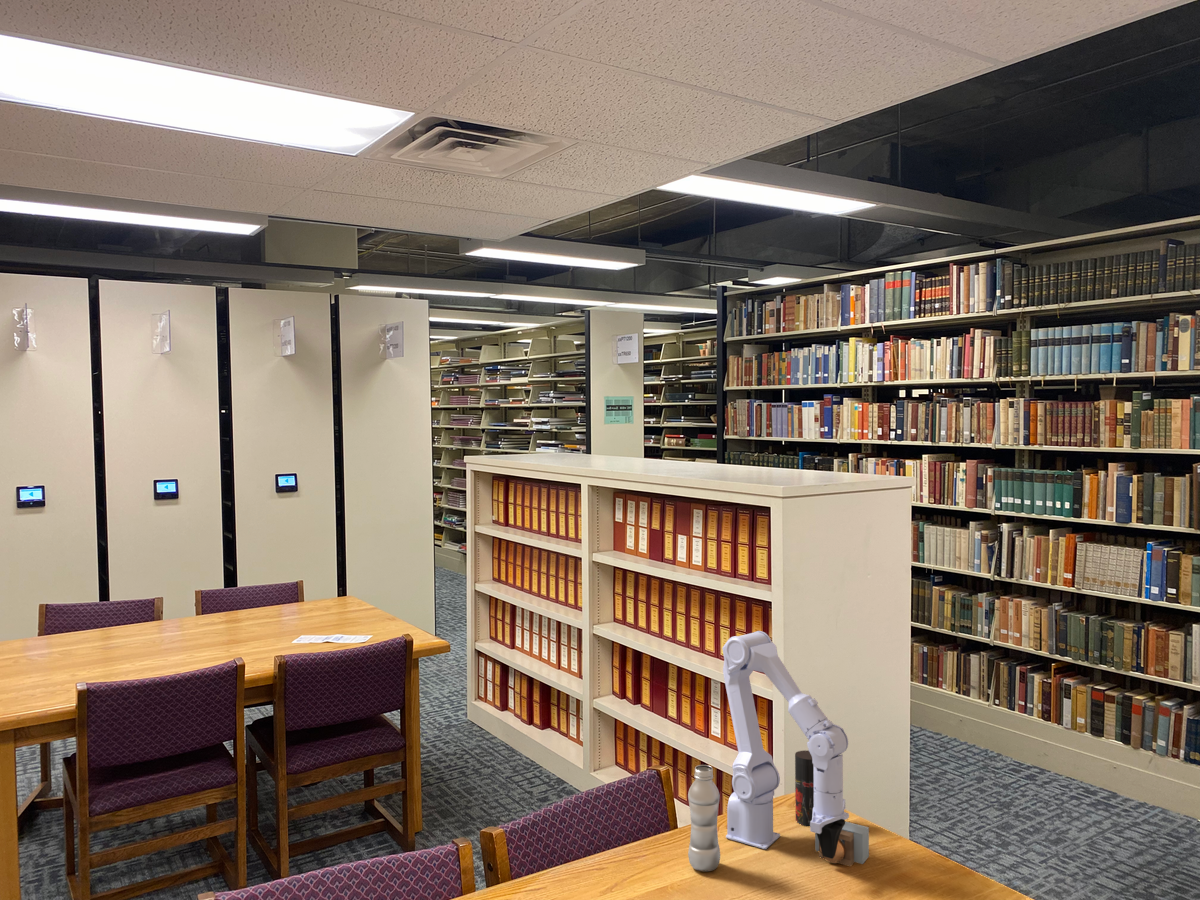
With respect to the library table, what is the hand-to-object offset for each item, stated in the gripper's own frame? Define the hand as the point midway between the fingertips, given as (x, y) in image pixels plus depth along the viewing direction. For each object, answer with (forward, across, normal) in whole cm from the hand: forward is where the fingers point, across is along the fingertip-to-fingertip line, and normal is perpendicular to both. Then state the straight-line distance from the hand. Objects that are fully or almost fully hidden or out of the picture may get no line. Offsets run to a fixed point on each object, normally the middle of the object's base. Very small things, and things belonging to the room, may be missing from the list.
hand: (828, 856), depth 166 cm
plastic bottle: (+3, -14, +20) cm, 25 cm away
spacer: (+2, +4, 0) cm, 5 cm away
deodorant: (+3, +19, +12) cm, 22 cm away
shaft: (+2, +7, 0) cm, 7 cm away
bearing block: (+2, +8, 0) cm, 8 cm away
